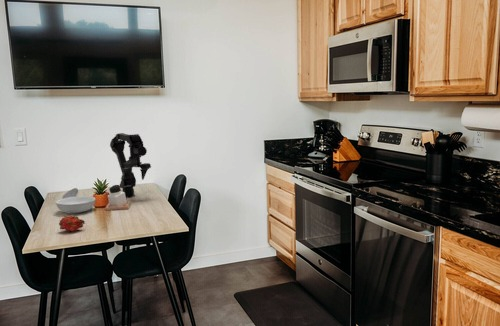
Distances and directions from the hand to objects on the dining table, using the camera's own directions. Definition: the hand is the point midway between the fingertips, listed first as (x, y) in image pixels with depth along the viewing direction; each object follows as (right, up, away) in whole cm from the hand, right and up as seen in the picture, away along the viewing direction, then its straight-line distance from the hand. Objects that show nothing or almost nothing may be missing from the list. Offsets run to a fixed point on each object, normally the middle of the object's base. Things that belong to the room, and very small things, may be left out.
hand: (136, 179), depth 267 cm
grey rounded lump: (-41, -15, +1) cm, 44 cm away
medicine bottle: (-6, -15, -17) cm, 23 cm away
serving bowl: (-28, -18, -23) cm, 40 cm away
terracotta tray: (-6, -16, -17) cm, 24 cm away
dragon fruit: (-15, -23, -60) cm, 66 cm away
